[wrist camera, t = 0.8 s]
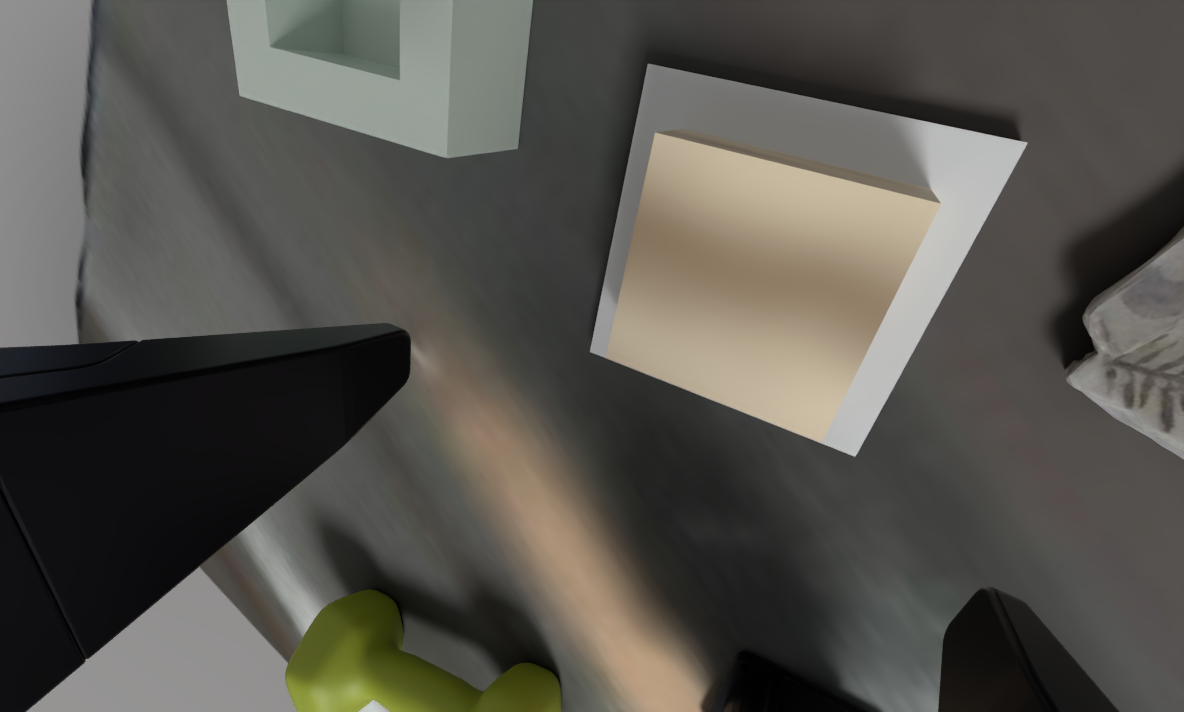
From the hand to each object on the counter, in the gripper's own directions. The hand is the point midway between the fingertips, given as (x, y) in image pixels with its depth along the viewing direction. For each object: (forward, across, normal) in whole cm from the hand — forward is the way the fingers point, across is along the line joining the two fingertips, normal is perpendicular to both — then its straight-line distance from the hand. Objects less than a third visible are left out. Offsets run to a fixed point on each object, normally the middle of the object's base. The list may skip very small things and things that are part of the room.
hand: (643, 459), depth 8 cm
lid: (+11, 0, 0) cm, 11 cm away
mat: (+11, 0, 0) cm, 11 cm away
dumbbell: (+12, +10, +30) cm, 34 cm away
